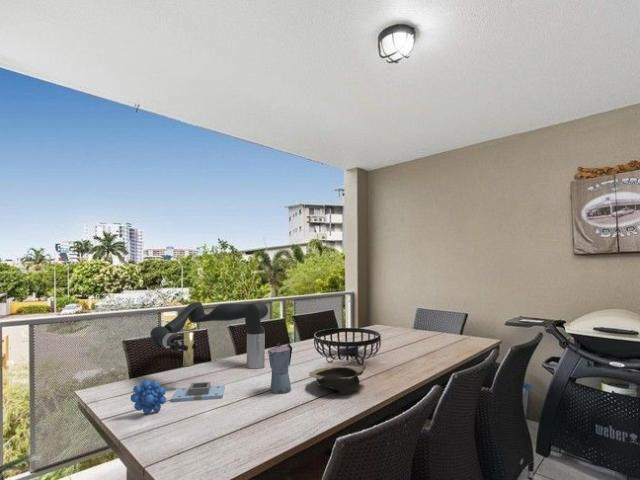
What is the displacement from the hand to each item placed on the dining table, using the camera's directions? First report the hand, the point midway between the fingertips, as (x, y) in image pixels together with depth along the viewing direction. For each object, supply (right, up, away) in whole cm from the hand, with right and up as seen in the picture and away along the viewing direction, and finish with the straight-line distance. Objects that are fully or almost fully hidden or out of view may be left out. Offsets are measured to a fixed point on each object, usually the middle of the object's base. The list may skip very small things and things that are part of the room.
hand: (191, 347), depth 151 cm
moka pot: (+39, -18, -2) cm, 42 cm away
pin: (-2, -8, +1) cm, 8 cm away
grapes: (-5, -16, -26) cm, 31 cm away
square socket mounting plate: (+6, -17, -7) cm, 19 cm away
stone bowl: (+62, -18, +1) cm, 65 cm away
